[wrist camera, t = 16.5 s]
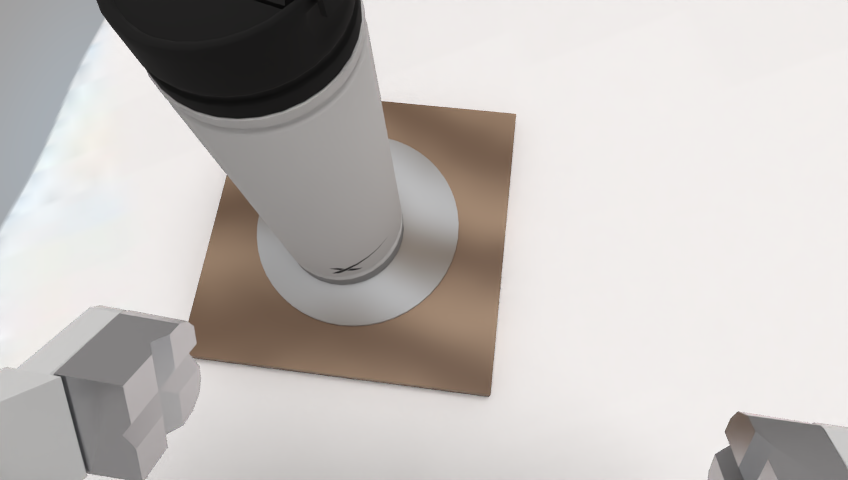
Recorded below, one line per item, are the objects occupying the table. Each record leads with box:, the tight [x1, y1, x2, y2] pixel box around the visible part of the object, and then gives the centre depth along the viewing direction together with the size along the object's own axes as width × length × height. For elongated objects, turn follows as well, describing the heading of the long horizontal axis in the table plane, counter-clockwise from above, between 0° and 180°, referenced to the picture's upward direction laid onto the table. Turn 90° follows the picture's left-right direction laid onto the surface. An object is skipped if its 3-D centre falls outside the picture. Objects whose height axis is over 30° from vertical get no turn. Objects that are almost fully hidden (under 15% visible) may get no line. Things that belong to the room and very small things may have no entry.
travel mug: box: [97, 0, 404, 285], centre depth 23 cm, size 6×7×20 cm
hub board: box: [188, 101, 516, 397], centre depth 33 cm, size 16×16×1 cm
